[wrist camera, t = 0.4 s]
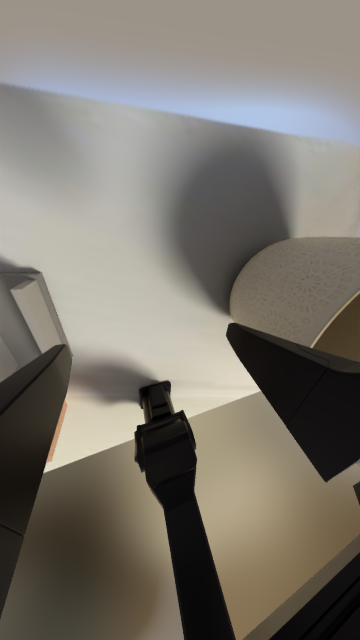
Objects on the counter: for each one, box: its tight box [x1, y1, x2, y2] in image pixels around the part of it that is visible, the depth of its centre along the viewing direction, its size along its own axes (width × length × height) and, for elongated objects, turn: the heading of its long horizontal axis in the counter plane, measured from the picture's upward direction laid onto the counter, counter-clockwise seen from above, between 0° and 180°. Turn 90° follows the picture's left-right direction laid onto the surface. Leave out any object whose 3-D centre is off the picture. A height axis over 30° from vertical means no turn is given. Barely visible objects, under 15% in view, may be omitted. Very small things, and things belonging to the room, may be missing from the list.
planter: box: [230, 237, 360, 362], centre depth 22 cm, size 17×17×15 cm
